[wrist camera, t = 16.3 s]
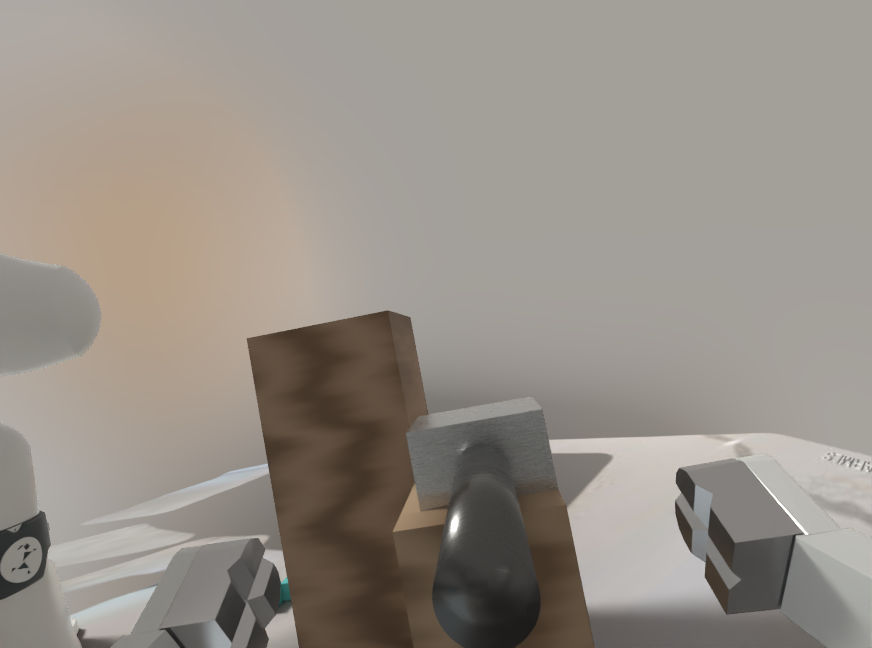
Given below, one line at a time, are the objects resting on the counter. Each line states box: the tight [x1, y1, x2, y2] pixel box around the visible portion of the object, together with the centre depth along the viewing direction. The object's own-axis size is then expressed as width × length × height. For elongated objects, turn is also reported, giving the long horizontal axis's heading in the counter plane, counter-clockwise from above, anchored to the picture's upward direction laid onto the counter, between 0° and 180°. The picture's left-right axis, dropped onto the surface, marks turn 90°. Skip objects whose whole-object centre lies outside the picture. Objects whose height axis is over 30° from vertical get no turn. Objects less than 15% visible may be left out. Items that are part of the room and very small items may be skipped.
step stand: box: [247, 311, 595, 648], centre depth 31 cm, size 18×19×26 cm
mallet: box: [406, 397, 558, 648], centre depth 20 cm, size 7×16×4 cm, turn 174°
